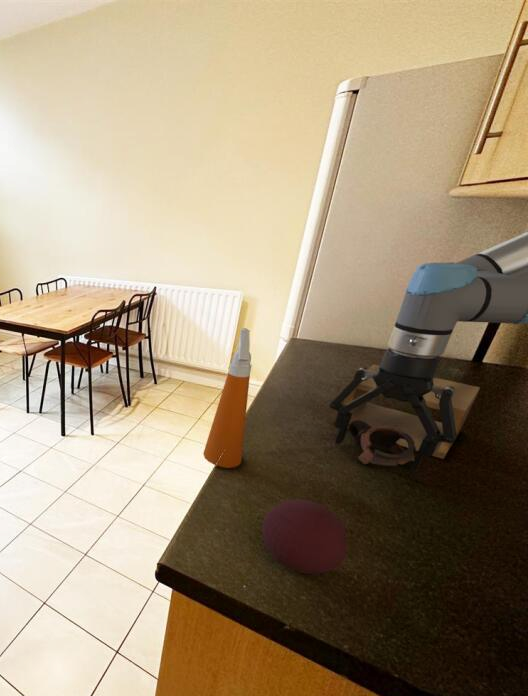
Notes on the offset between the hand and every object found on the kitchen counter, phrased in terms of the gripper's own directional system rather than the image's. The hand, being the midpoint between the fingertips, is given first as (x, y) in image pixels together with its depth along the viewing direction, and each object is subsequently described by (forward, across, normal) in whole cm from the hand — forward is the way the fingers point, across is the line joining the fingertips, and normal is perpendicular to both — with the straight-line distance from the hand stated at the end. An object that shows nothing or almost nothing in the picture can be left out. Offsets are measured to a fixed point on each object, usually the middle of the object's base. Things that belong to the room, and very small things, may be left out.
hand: (374, 453), depth 83 cm
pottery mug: (+1, 0, 0) cm, 1 cm away
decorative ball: (+1, +1, -41) cm, 41 cm away
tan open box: (+1, 0, +17) cm, 17 cm away
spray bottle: (+1, -20, -22) cm, 30 cm away
